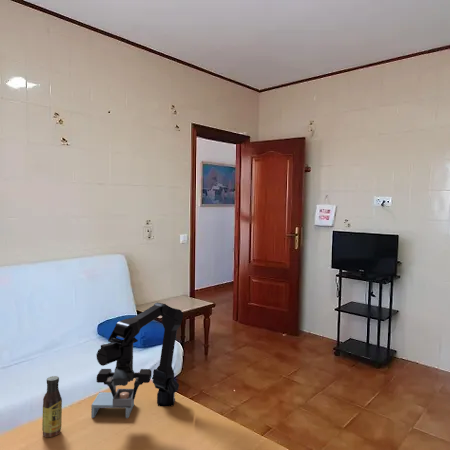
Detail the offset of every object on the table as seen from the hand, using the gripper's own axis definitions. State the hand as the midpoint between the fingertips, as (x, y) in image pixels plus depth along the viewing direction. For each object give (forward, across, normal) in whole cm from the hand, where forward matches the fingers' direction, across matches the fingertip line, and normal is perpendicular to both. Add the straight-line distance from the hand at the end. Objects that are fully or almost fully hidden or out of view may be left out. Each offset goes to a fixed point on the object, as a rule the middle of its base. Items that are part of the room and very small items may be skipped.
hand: (124, 398), depth 140 cm
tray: (+1, 0, 0) cm, 1 cm away
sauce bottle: (+12, -25, -2) cm, 28 cm away
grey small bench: (+11, -6, +12) cm, 18 cm away
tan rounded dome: (+1, 0, 0) cm, 1 cm away
